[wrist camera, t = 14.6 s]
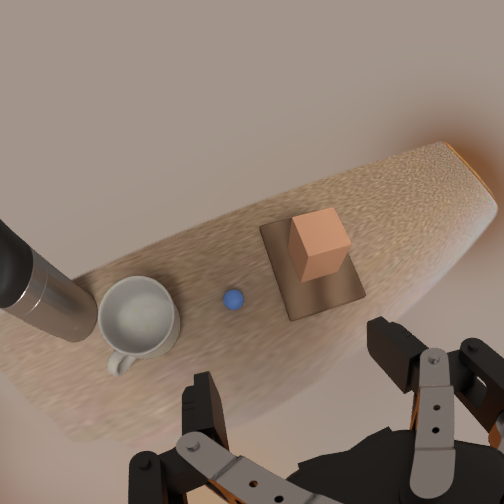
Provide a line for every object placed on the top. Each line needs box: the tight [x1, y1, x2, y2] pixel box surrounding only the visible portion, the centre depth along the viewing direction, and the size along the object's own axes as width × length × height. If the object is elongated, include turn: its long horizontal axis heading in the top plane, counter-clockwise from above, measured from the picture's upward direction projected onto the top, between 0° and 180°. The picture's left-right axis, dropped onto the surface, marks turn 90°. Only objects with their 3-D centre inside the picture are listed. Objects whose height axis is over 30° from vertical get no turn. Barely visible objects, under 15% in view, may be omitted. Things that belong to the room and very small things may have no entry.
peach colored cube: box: [288, 207, 352, 283], centre depth 41 cm, size 6×6×8 cm
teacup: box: [98, 276, 180, 376], centre depth 38 cm, size 14×11×8 cm
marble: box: [223, 289, 244, 310], centre depth 42 cm, size 3×3×3 cm
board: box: [260, 218, 366, 322], centre depth 46 cm, size 12×16×1 cm
